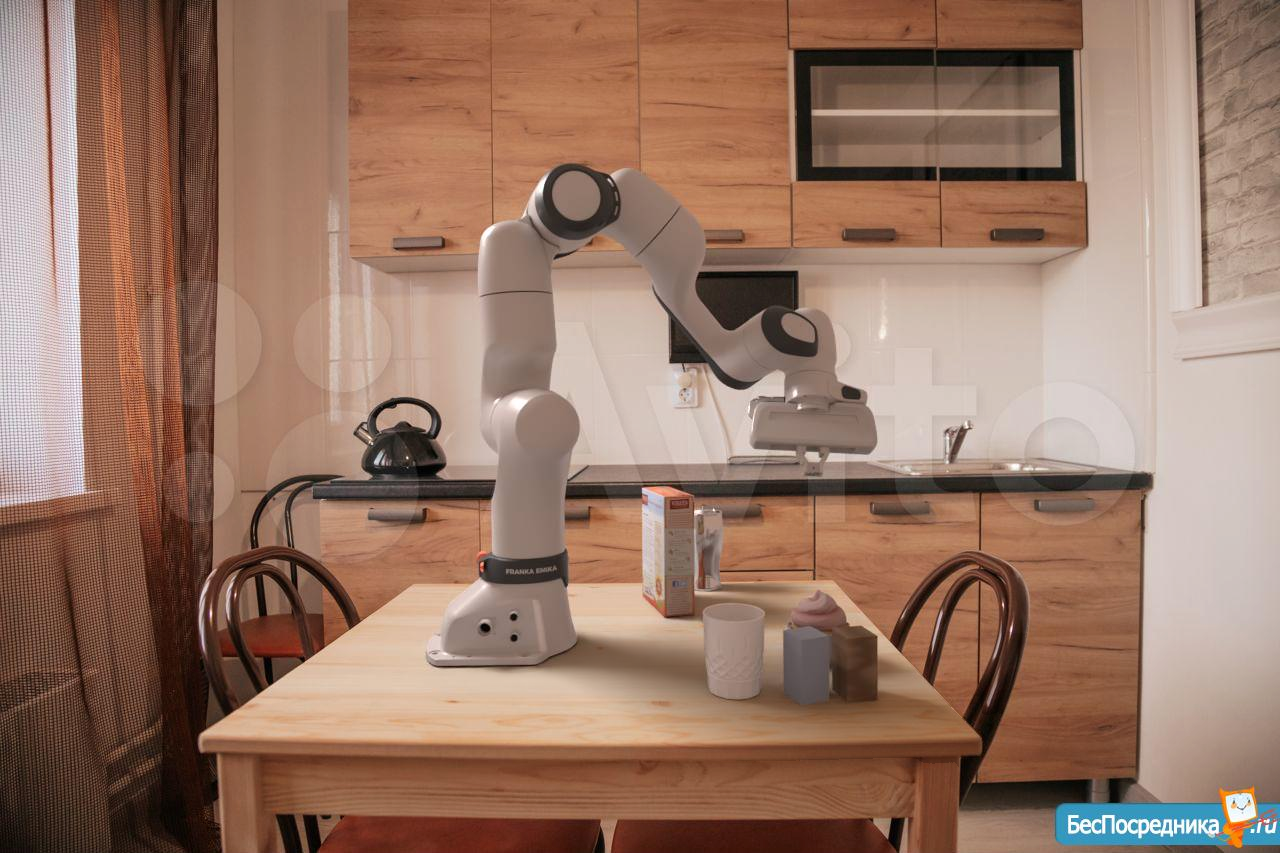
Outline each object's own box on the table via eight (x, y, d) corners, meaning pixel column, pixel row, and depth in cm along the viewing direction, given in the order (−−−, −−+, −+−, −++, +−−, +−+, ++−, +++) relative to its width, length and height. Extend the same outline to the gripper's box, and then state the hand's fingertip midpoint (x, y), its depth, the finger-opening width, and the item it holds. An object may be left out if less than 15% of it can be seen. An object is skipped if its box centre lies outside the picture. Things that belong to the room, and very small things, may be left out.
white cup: (778, 693, 87) (778, 614, 87) (728, 707, 83) (727, 625, 83) (739, 672, 94) (739, 599, 94) (691, 684, 90) (690, 609, 90)
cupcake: (774, 651, 102) (774, 583, 101) (832, 644, 104) (831, 578, 104) (805, 675, 93) (804, 601, 92) (867, 667, 95) (867, 595, 95)
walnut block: (847, 703, 84) (847, 638, 84) (832, 690, 88) (831, 627, 88) (877, 700, 85) (877, 635, 85) (861, 687, 89) (861, 625, 89)
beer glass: (725, 591, 133) (724, 514, 133) (689, 592, 133) (688, 514, 133) (721, 582, 140) (721, 508, 140) (687, 582, 140) (686, 508, 140)
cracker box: (697, 615, 119) (696, 494, 118) (663, 618, 118) (662, 496, 117) (672, 593, 133) (670, 484, 132) (641, 596, 131) (640, 486, 130)
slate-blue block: (801, 705, 84) (801, 640, 84) (783, 692, 88) (783, 630, 87) (829, 700, 85) (829, 635, 85) (810, 687, 89) (810, 625, 89)
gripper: (750, 386, 115) (748, 464, 109) (877, 392, 113) (882, 471, 107) (747, 404, 120) (745, 478, 114) (868, 409, 118) (872, 485, 113)
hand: (812, 475), depth 111 cm, fingers closed
